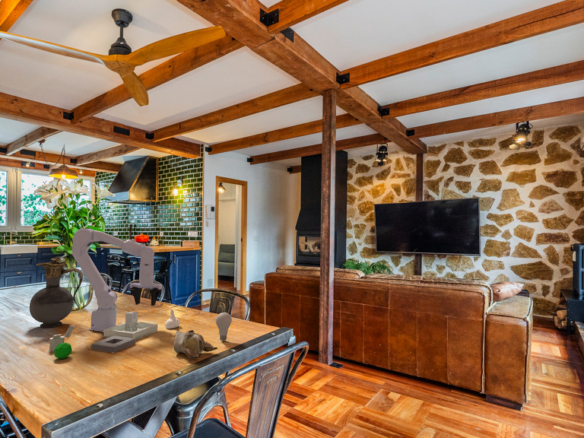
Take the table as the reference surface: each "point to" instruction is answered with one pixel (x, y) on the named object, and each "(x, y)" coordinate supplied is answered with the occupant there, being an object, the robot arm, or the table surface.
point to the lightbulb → (223, 324)
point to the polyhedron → (62, 350)
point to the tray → (142, 331)
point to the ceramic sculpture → (191, 344)
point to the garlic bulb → (172, 321)
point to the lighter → (59, 338)
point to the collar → (113, 344)
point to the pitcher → (53, 296)
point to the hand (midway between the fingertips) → (145, 304)
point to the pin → (131, 321)
